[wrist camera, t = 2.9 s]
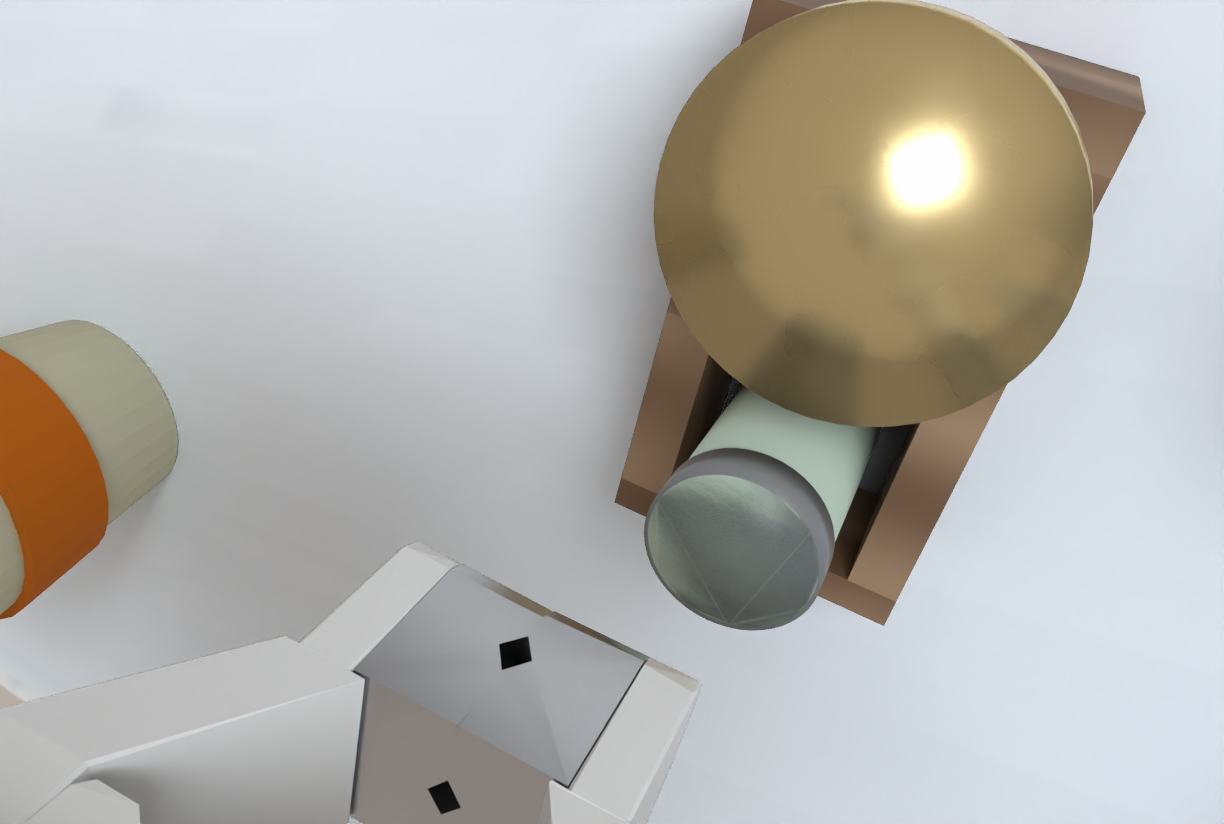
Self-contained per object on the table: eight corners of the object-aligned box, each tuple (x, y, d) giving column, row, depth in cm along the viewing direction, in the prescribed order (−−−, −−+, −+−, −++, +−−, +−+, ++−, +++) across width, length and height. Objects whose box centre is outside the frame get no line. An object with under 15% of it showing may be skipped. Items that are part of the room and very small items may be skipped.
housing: (910, 537, 33) (883, 625, 29) (670, 433, 36) (614, 502, 32) (1139, 76, 25) (1145, 112, 21) (806, -23, 27) (755, -8, 23)
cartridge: (866, 471, 33) (788, 658, 25) (739, 418, 34) (626, 581, 26) (917, 354, 31) (850, 521, 23) (779, 301, 32) (668, 441, 24)
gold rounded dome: (999, 380, 27) (976, 487, 22) (698, 264, 29) (616, 338, 24) (1169, 43, 22) (1188, 86, 17) (792, -66, 24) (714, -55, 19)
